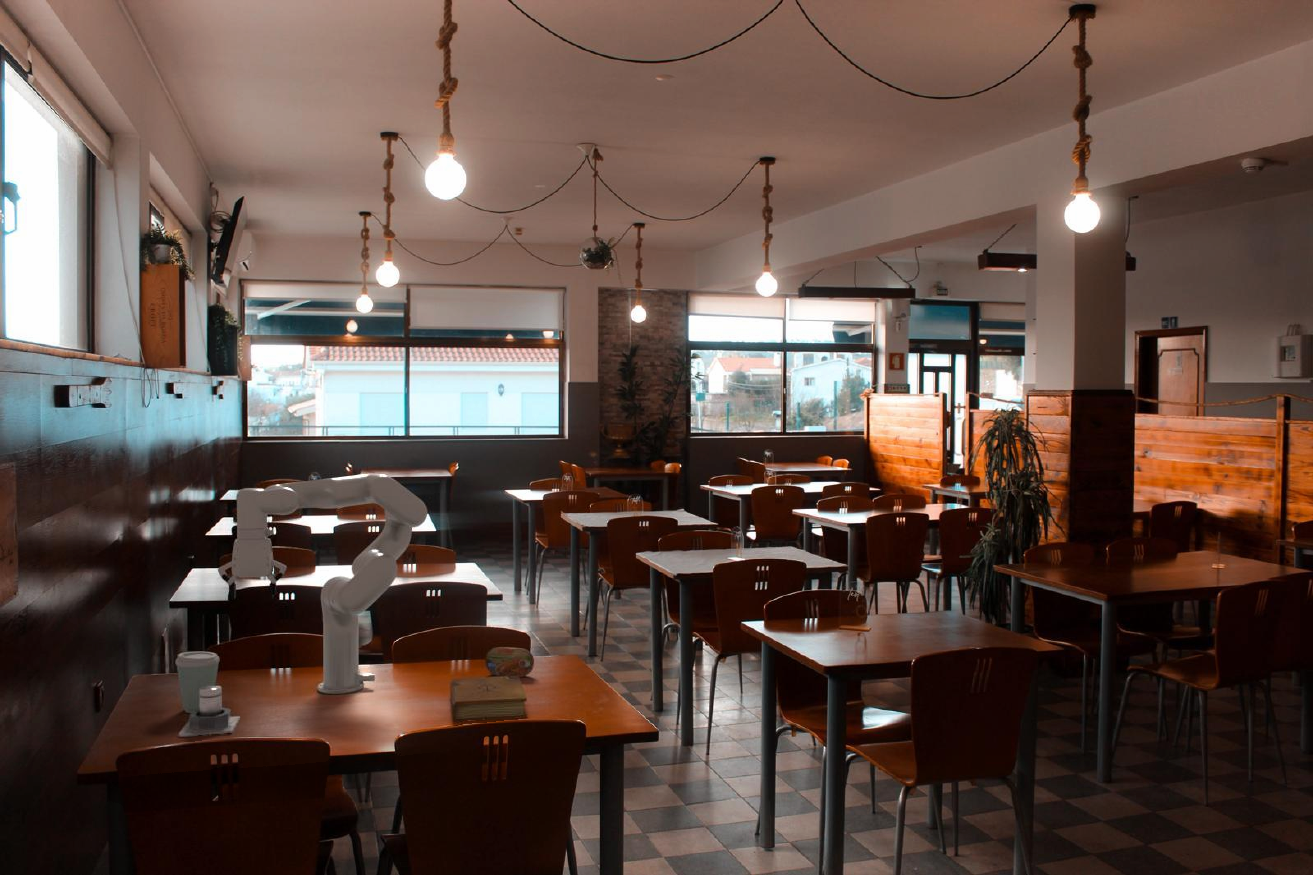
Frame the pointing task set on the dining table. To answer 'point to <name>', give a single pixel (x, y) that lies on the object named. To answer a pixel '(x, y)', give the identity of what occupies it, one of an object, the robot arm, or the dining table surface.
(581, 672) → the dining table surface
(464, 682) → the diary
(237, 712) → the dining table surface
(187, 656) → the disposable coffee cup
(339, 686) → the robot arm
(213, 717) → the ring jig
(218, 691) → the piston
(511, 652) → the tin
